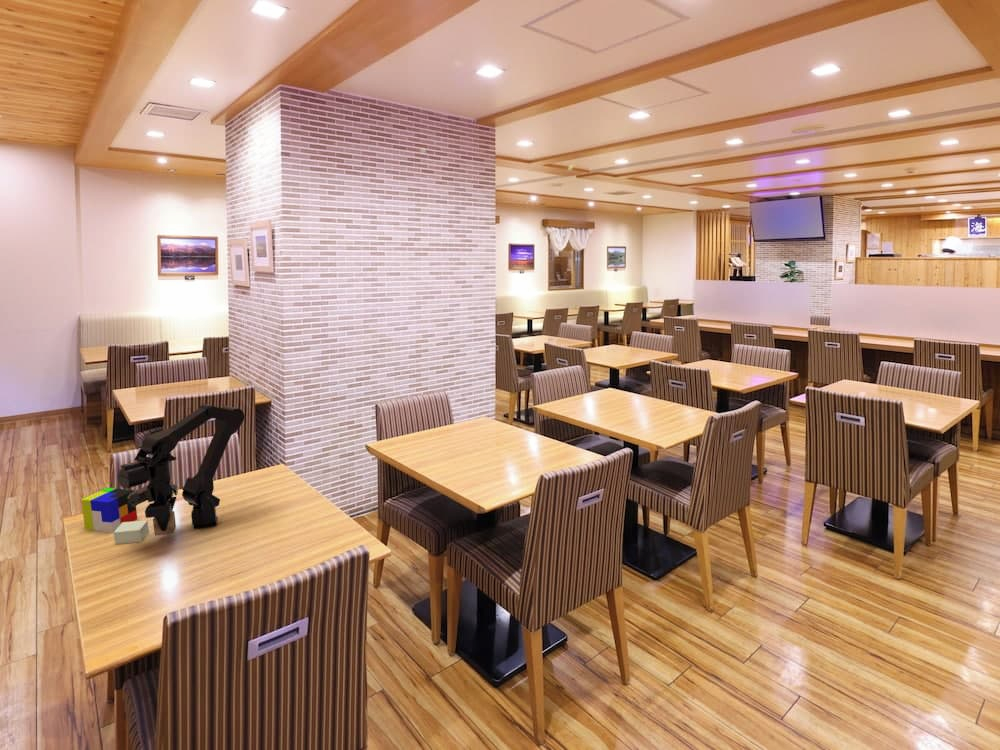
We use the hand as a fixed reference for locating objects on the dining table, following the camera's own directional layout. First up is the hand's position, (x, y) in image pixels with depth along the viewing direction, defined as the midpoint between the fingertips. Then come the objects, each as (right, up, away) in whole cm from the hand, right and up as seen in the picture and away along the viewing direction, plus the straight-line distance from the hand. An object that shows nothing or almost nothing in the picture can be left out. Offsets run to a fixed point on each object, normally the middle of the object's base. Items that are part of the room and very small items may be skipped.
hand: (165, 527), depth 183 cm
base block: (-11, -4, +2) cm, 12 cm away
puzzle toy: (-23, -2, +11) cm, 26 cm away
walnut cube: (0, -1, 0) cm, 1 cm away
